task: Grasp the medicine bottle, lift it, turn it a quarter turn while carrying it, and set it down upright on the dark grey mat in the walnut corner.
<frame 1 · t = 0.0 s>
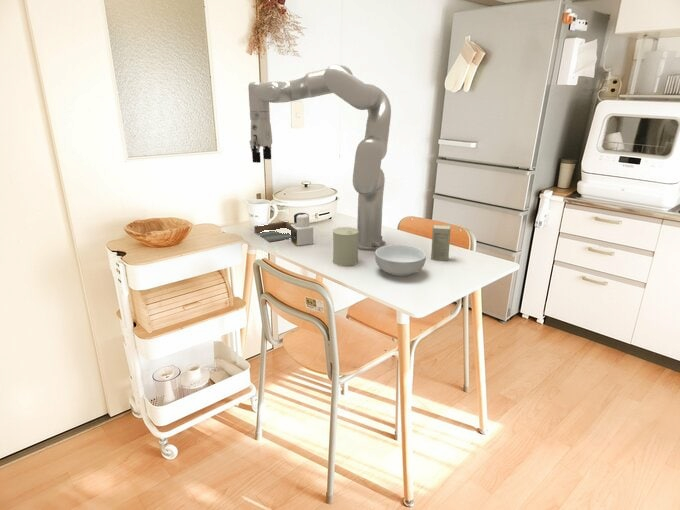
hand: (262, 160, 177), 31 cm above the table, tool pointing down, fingers open, 9 cm apart
cereal bowl: (399, 272, 150), on the table
skincare box: (439, 259, 162), on the table
medicine bottle: (302, 243, 178), on the table
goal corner: (278, 235, 187), on the table
can: (345, 261, 159), on the table
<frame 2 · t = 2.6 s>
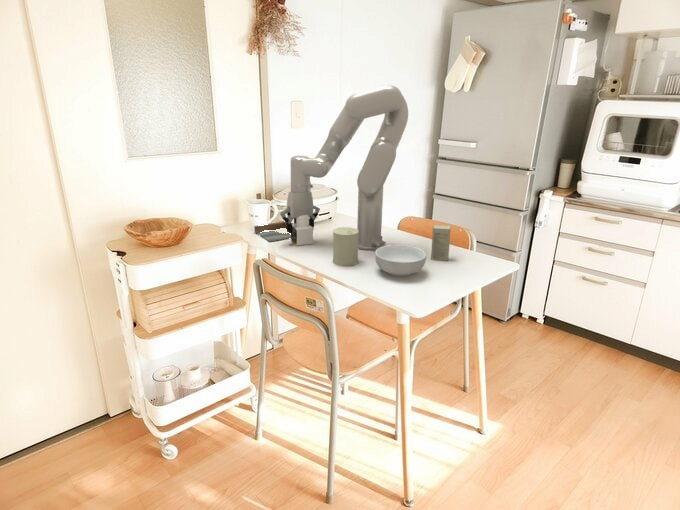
hand: (300, 230, 177), 5 cm above the table, tool pointing down, fingers open, 9 cm apart
nothing on the table moved.
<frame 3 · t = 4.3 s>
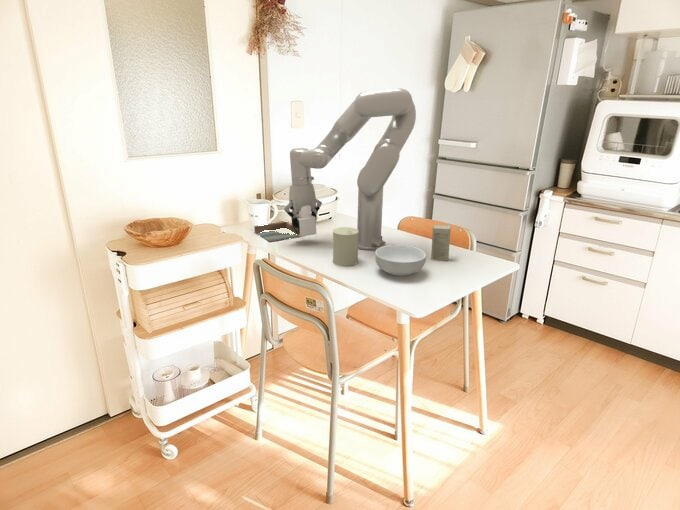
hand: (304, 224, 176), 7 cm above the table, tool pointing down, fingers closed on medicine bottle, 7 cm apart
medicine bottle: (305, 233, 177), point 4 cm above the table, touching gripper
everything else where it was.
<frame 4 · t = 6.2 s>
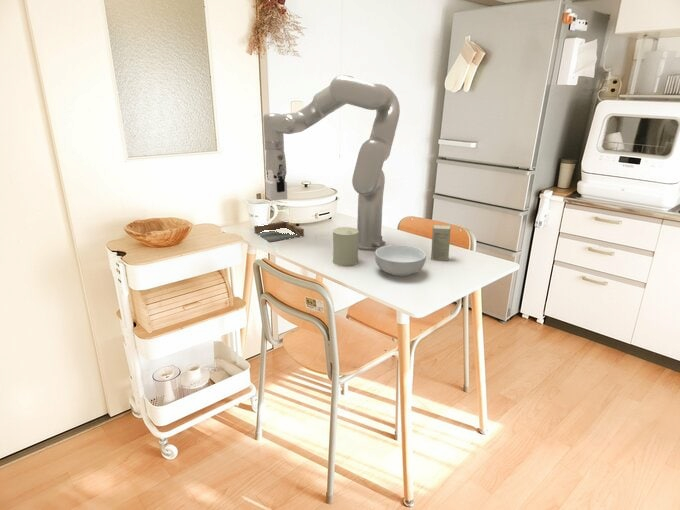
hand: (276, 189, 180), 20 cm above the table, tool pointing down, fingers closed on medicine bottle, 7 cm apart
medicine bottle: (276, 198, 182), point 16 cm above the table, touching gripper
everything else where it was.
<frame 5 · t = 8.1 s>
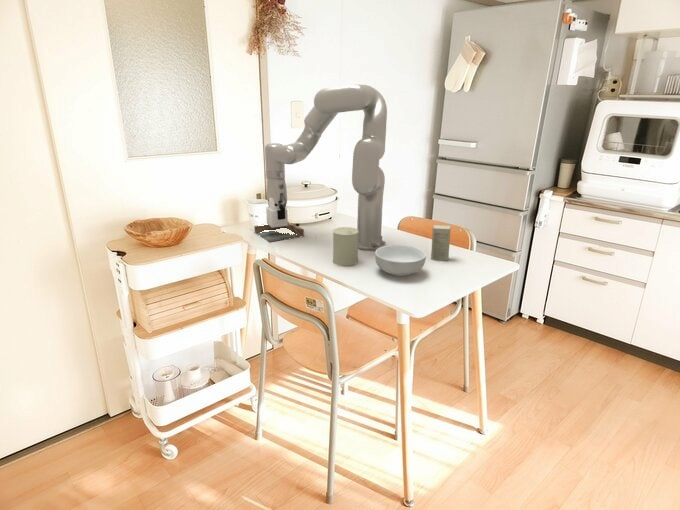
hand: (277, 216, 184), 8 cm above the table, tool pointing down, fingers closed on medicine bottle, 7 cm apart
medicine bottle: (277, 225, 186), point 4 cm above the table, touching gripper
everything else where it was.
when the fingers open (5 cm above the table, at t = 9.5 s): medicine bottle stays where it is, resting on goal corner.
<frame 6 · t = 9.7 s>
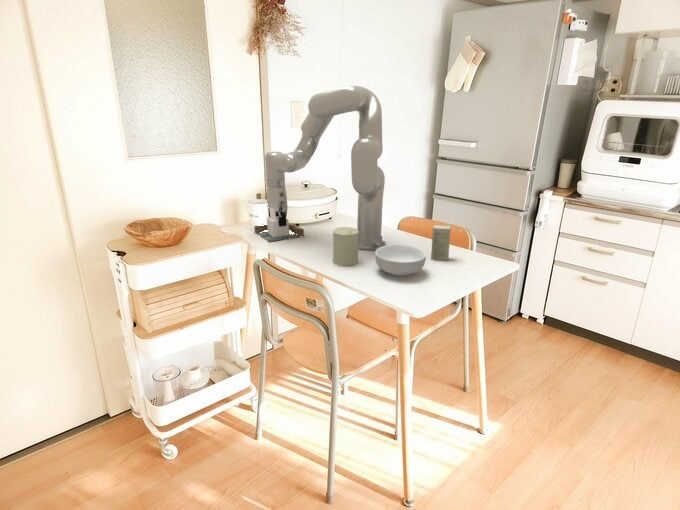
hand: (277, 223, 185), 5 cm above the table, tool pointing down, fingers open, 9 cm apart
medicine bottle: (278, 234, 187), resting on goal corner
everything else where it was.
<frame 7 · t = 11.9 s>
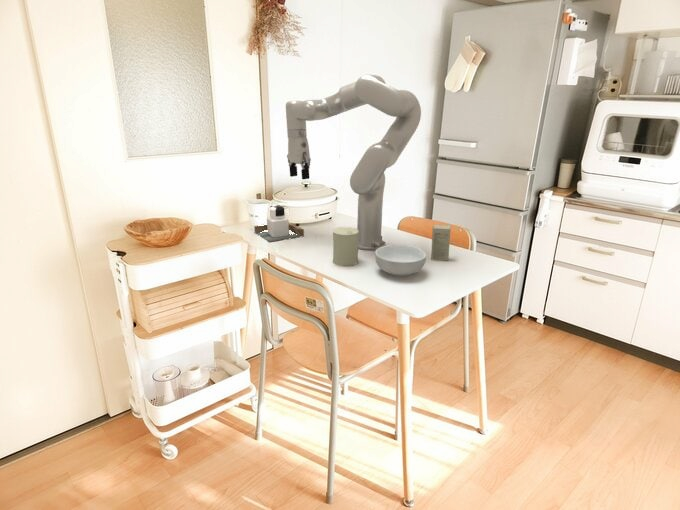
hand: (299, 177, 179), 25 cm above the table, tool pointing down, fingers open, 9 cm apart
nothing on the table moved.
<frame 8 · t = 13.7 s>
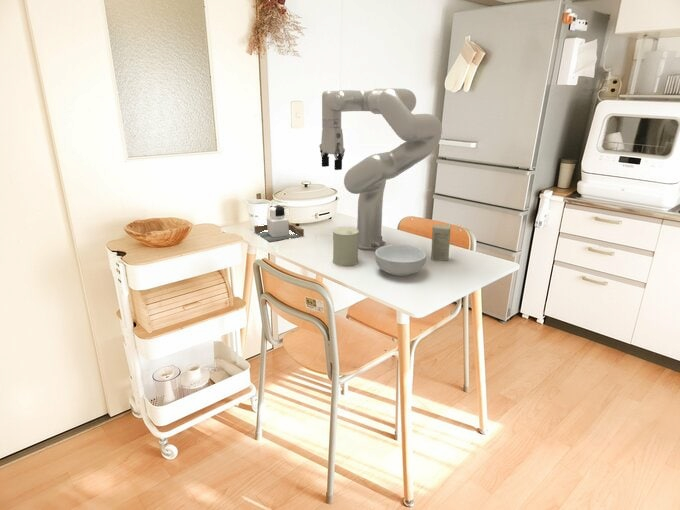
hand: (331, 168, 179), 28 cm above the table, tool pointing down, fingers open, 9 cm apart
nothing on the table moved.
at the end: medicine bottle inside the target area on the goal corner (0.1 cm from its centre), point 0.1 cm above the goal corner's base; medicine bottle tilted 0°; the gripper is holding nothing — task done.
